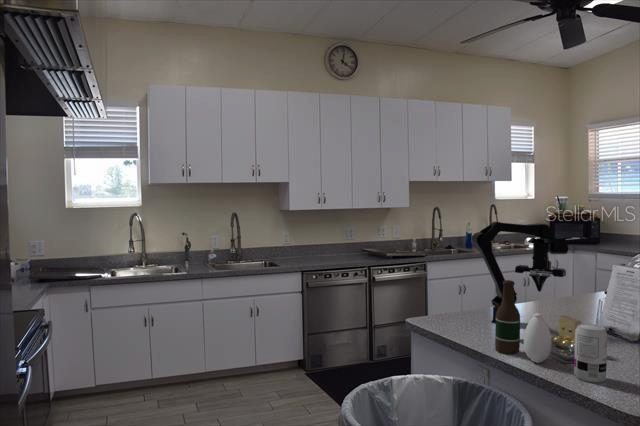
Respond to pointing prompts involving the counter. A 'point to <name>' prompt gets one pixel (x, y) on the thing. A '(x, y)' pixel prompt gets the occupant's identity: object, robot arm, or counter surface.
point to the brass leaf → (565, 331)
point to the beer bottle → (507, 322)
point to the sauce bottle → (537, 338)
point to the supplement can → (590, 353)
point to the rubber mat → (553, 347)
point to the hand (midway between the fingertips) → (539, 291)
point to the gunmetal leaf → (565, 352)
